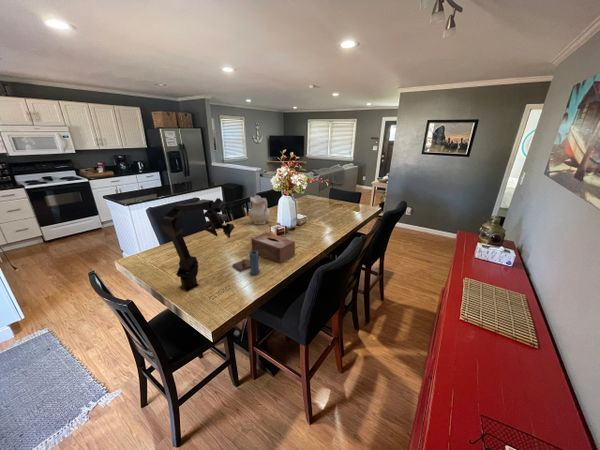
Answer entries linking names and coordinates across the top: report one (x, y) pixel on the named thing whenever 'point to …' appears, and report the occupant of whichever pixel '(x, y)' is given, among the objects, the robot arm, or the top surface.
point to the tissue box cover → (273, 247)
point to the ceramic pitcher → (259, 210)
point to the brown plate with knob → (242, 265)
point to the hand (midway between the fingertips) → (223, 236)
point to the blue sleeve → (254, 262)
